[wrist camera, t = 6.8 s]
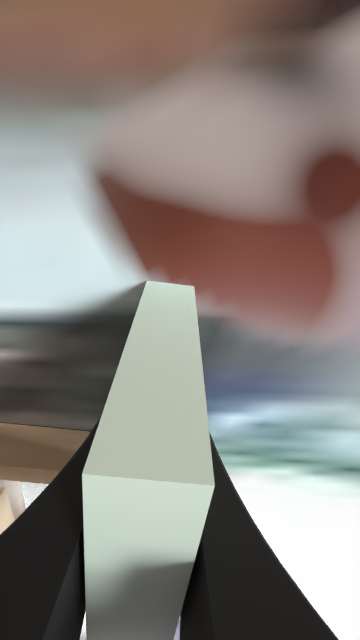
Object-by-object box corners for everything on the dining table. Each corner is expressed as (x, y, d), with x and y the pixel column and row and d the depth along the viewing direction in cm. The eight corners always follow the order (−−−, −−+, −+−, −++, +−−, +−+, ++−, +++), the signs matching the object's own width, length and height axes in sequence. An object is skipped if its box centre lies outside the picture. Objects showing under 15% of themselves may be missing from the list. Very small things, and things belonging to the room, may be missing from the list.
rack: (173, 573, 23) (172, 617, 20) (-41, 558, 22) (-66, 601, 20) (202, 442, 17) (205, 484, 14) (-93, 413, 16) (-138, 453, 14)
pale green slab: (172, 426, 16) (162, 679, 8) (135, 422, 16) (87, 675, 8) (193, 286, 13) (214, 485, 5) (146, 280, 13) (81, 474, 4)
